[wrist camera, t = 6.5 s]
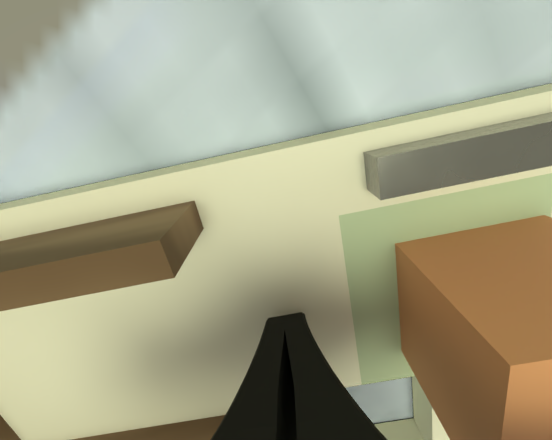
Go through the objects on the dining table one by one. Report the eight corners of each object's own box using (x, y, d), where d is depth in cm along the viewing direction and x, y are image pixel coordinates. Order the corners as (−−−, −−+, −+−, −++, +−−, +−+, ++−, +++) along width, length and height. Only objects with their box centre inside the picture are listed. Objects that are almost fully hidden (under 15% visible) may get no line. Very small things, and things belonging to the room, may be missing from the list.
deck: (519, 419, 16) (552, 459, 14) (95, 482, 18) (75, 526, 16) (573, 78, 10) (645, 70, 8) (-98, 225, 11) (-171, 247, 9)
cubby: (268, 423, 13) (266, 509, 10) (18, 462, 14) (-47, 552, 11) (194, 200, 9) (159, 240, 6) (-149, 272, 10) (-319, 336, 7)
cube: (527, 329, 11) (712, 487, 6) (401, 351, 11) (491, 515, 7) (544, 214, 9) (817, 316, 5) (394, 243, 10) (510, 365, 5)
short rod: (561, 149, 9) (605, 155, 7) (366, 189, 9) (380, 200, 8) (567, 108, 8) (614, 107, 7) (363, 152, 9) (377, 157, 7)
